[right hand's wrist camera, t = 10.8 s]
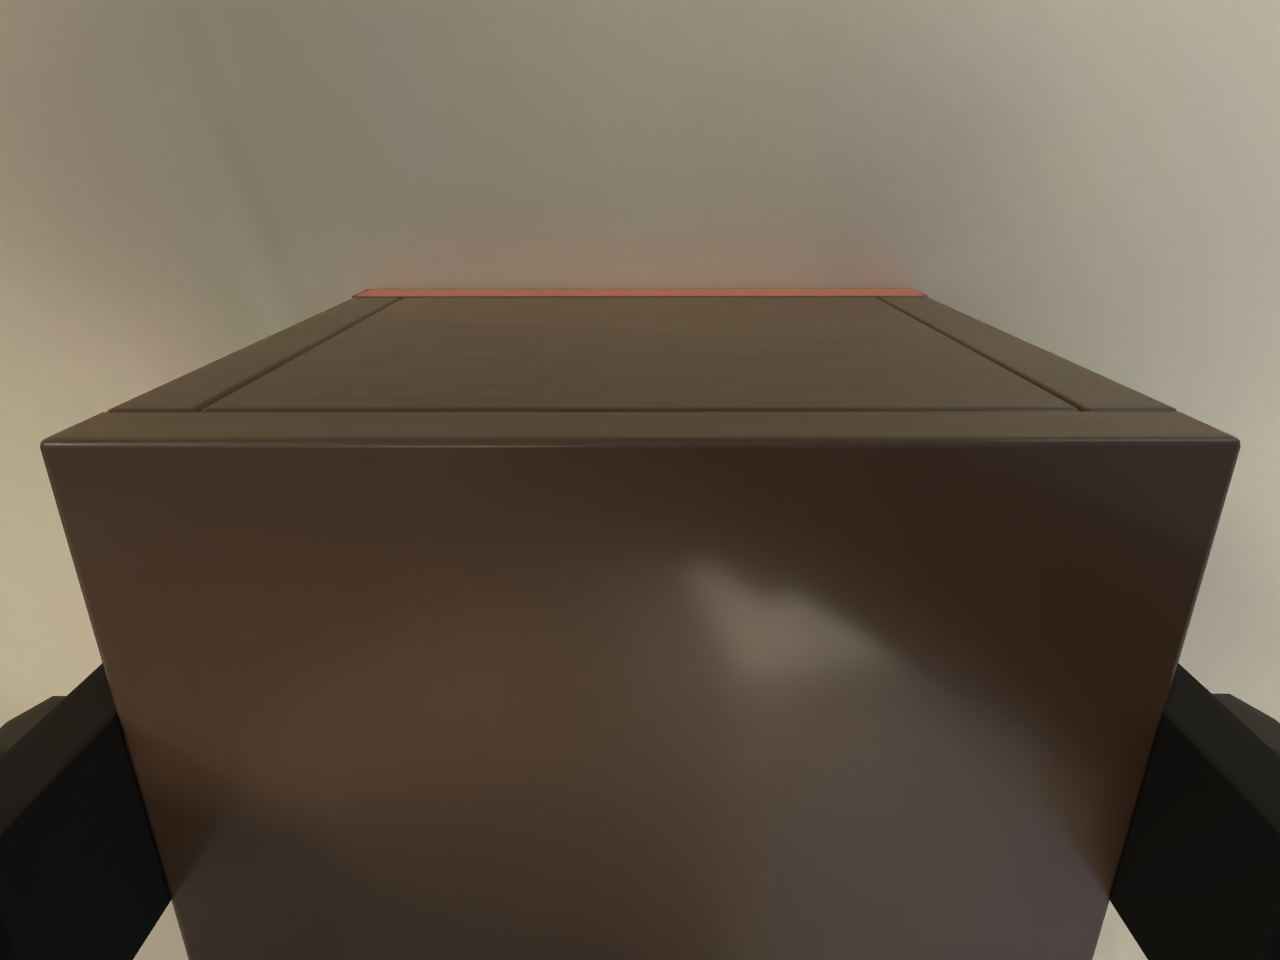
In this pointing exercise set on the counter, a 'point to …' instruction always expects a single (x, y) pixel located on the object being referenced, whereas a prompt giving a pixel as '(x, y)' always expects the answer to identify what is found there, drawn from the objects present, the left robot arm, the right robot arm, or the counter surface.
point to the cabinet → (640, 627)
